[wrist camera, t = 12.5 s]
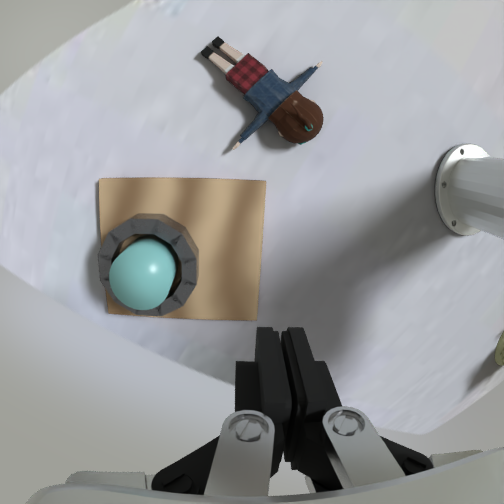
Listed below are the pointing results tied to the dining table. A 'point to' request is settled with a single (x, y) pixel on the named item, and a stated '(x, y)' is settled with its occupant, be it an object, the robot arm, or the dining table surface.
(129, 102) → the dining table surface
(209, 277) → the board
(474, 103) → the dining table surface
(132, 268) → the teal rounded tetrahedron
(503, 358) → the figurine
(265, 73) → the toy
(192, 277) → the faceted gray ring
